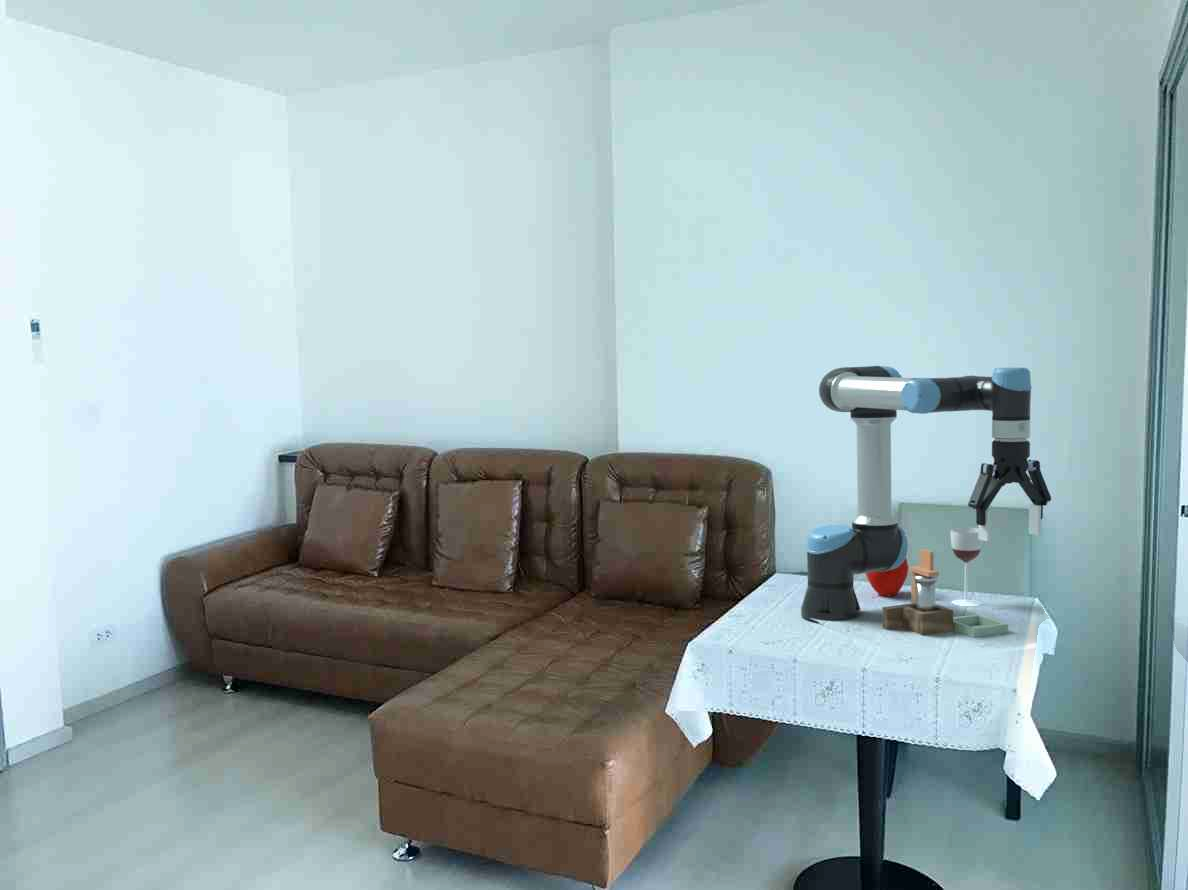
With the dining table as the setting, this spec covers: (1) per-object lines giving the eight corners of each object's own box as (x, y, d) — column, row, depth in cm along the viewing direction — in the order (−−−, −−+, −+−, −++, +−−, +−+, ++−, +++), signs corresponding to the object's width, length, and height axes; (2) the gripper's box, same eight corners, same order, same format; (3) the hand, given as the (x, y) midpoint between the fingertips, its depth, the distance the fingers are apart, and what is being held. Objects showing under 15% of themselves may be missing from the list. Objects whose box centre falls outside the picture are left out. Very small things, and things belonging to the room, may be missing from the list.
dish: (945, 630, 239) (945, 618, 239) (978, 625, 242) (978, 614, 242) (973, 641, 229) (973, 629, 229) (1007, 636, 233) (1007, 624, 232)
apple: (889, 587, 283) (889, 542, 282) (917, 596, 273) (918, 549, 272) (856, 592, 279) (856, 546, 278) (884, 601, 268) (884, 553, 267)
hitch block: (882, 632, 239) (882, 607, 239) (928, 625, 244) (928, 601, 243) (906, 641, 231) (906, 616, 230) (953, 634, 235) (953, 609, 235)
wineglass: (945, 603, 264) (945, 530, 262) (958, 597, 270) (958, 526, 268) (974, 608, 258) (974, 533, 256) (987, 601, 265) (987, 529, 263)
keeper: (908, 602, 241) (908, 549, 240) (918, 601, 242) (918, 548, 241) (928, 609, 234) (928, 554, 233) (938, 608, 235) (938, 553, 234)
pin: (908, 626, 240) (908, 574, 238) (927, 624, 242) (927, 572, 240) (923, 632, 234) (923, 579, 233) (942, 629, 236) (942, 577, 235)
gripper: (975, 444, 201) (974, 545, 203) (1070, 437, 210) (1068, 535, 212) (951, 441, 208) (950, 539, 210) (1043, 435, 217) (1041, 529, 219)
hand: (1009, 537), depth 211 cm, fingers open, 13 cm apart
